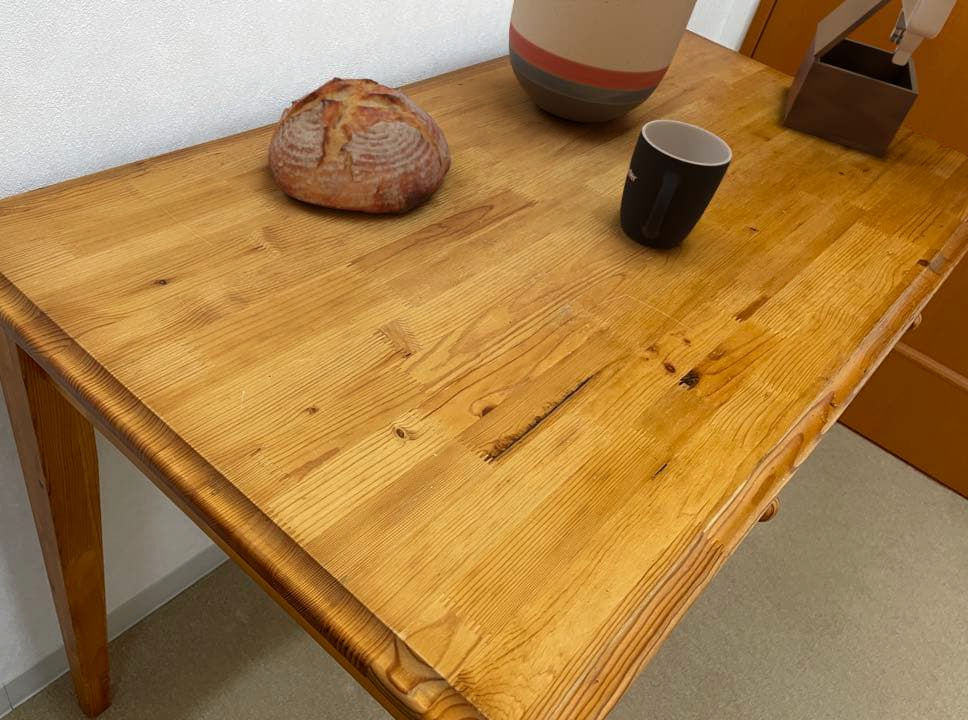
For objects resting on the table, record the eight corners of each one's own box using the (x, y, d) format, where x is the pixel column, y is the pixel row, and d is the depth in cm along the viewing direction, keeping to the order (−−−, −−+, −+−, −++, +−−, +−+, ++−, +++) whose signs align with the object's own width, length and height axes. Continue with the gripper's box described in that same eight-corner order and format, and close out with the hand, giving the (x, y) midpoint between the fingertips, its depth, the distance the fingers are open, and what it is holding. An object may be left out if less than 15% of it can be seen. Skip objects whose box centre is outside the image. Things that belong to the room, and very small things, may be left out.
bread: (229, 178, 83) (225, 75, 76) (362, 127, 95) (369, 35, 89) (354, 246, 76) (362, 140, 70) (480, 182, 89) (496, 87, 82)
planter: (579, 163, 96) (644, -39, 82) (457, 87, 106) (497, -106, 91) (678, 130, 108) (751, -51, 94) (561, 65, 118) (611, -109, 103)
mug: (617, 199, 92) (650, 110, 85) (697, 227, 90) (737, 139, 83) (592, 250, 83) (626, 155, 76) (680, 282, 82) (723, 189, 75)
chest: (880, 117, 125) (913, 58, 119) (882, 157, 114) (919, 94, 108) (789, 88, 127) (817, 29, 121) (782, 125, 116) (813, 61, 110)
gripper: (994, -36, 95) (924, 84, 105) (976, -70, 110) (916, 38, 119) (937, -52, 96) (873, 68, 106) (927, -83, 111) (871, 25, 121)
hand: (896, 52), depth 113 cm, fingers open, 8 cm apart
